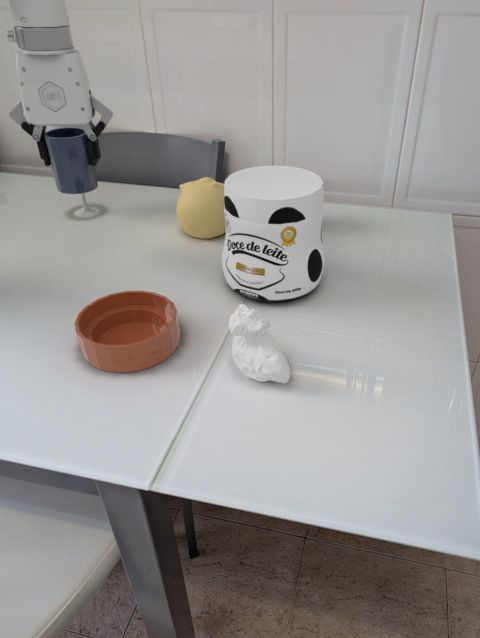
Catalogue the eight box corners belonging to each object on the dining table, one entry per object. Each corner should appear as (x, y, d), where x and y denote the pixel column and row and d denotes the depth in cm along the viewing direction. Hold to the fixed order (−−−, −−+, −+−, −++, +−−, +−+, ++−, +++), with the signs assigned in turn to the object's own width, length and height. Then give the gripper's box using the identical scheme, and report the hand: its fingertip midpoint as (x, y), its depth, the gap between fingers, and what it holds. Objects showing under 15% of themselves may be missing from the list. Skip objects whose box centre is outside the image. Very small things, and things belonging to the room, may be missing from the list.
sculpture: (240, 222, 107) (238, 171, 100) (227, 246, 98) (224, 193, 91) (189, 218, 109) (184, 168, 102) (171, 242, 99) (165, 189, 93)
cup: (52, 194, 84) (38, 138, 78) (62, 180, 89) (50, 127, 83) (93, 194, 84) (82, 138, 79) (101, 180, 89) (91, 127, 84)
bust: (238, 358, 74) (188, 322, 66) (273, 321, 73) (228, 280, 65) (278, 408, 65) (227, 374, 57) (318, 368, 65) (273, 327, 57)
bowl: (72, 378, 67) (63, 349, 64) (94, 319, 78) (87, 292, 75) (176, 373, 68) (172, 344, 65) (183, 316, 79) (180, 289, 76)
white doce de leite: (228, 316, 79) (222, 206, 68) (219, 264, 92) (212, 166, 81) (334, 306, 81) (345, 198, 70) (309, 257, 94) (315, 160, 83)
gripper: (-25, 43, 70) (12, 171, 81) (100, 44, 71) (121, 170, 82) (-6, 37, 76) (27, 157, 86) (110, 38, 77) (127, 156, 88)
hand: (72, 162), depth 84 cm, fingers closed on cup, 6 cm apart
